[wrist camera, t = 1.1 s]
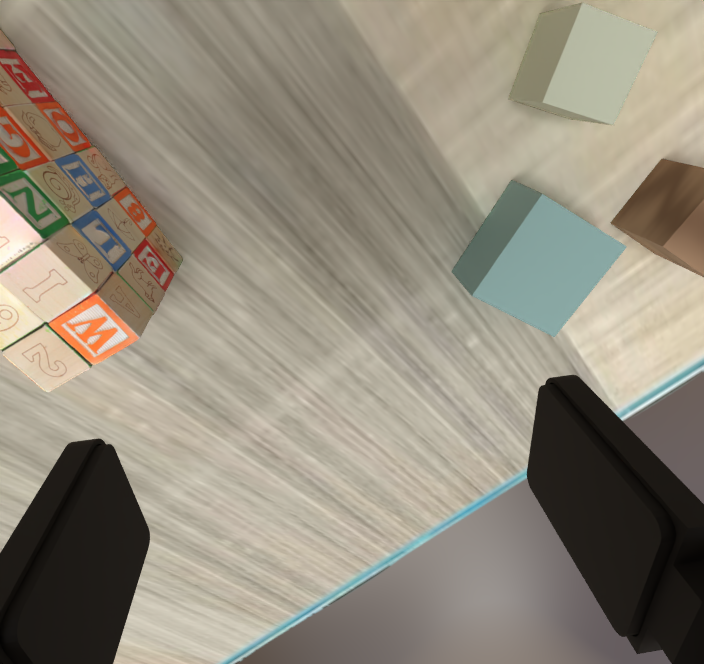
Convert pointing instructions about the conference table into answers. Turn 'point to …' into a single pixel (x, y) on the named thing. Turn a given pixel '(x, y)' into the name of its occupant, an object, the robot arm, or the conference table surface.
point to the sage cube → (581, 63)
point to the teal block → (535, 259)
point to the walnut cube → (668, 214)
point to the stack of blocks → (67, 240)
